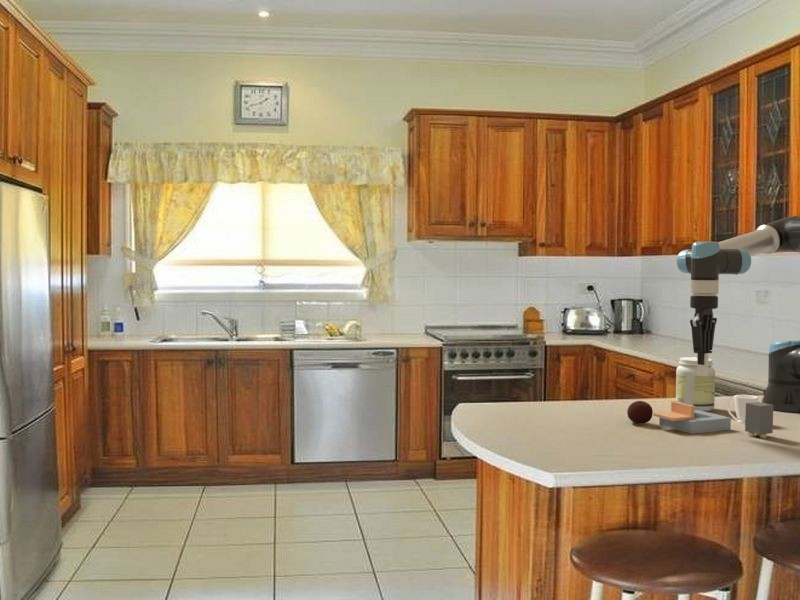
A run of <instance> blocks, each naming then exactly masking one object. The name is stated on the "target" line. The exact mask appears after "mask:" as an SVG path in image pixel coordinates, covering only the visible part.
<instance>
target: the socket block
mask: <svg viewBox="0 0 800 600" xmlns="http://www.w3.org/2000/svg"><path fill="white" fill-rule="evenodd" d="M731 424H732V418H731V417H728V416H725V415H720V414H717V413H712V412H709V411H705V412H704V411H700V410H694V419H688V420H678V421H671V420H667V419H664V418H660V417H659V426H662V427H666V428H668V429H674V430H676V431H680V432H684V433H687V434H690V435H691V434H692V435H694V434H702V433H703V434H704V433H711V432H719V431H730V430H731Z"/></svg>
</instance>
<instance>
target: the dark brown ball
mask: <svg viewBox="0 0 800 600" xmlns="http://www.w3.org/2000/svg"><path fill="white" fill-rule="evenodd" d="M653 413H654V410H653V407H652V406H651V404H650V403H648V402H647V401H643V400H637V401H634V402H631V404H630V405H628V407H627V413H626V414H627V417H628V419H629V420H630V421H631V422H632V423H634V424H637V425H643V424H646V423H648V422H650V420H652V417H653Z"/></svg>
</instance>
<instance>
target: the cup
mask: <svg viewBox="0 0 800 600" xmlns="http://www.w3.org/2000/svg"><path fill="white" fill-rule="evenodd" d="M731 400H734V401H733V402H734V408H735V409H734V410H735V414H736V416H735V415H734V414H733V413H732V412H731V410H730V403H731ZM758 400H759V396H756V395H753V394H751V395H750V394H735V395H733V397H732V396H731V397H729V399H727V403H726V410H727V412H728V414H729V415H730V416H731V417H732V418H733V420H735V421H737V423H739V422H740V424H744V423H745V417H746V403H752V402H759V401H758Z"/></svg>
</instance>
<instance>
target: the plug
mask: <svg viewBox="0 0 800 600" xmlns="http://www.w3.org/2000/svg"><path fill="white" fill-rule="evenodd" d="M744 425H745V426H744V427H745V428H744V432H748V437H755V436H759V438H761V439H766V438H767V435H769V434H773V433H774V432H773V431H774V430H773V429H774V428H773V427H774V410H773V405H771V404H766V403H762V401H758V402H752V403H746V417H745V424H744Z"/></svg>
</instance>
